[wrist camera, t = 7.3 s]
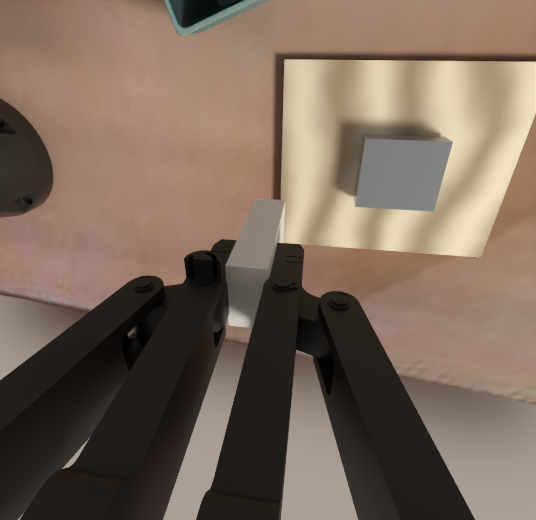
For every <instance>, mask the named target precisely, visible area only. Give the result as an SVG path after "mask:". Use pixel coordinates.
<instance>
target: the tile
mask: <svg viewBox="0 0 536 520" xmlns="http://www.w3.org/2000/svg"><path fill="white" fill-rule="evenodd" d="M452 144H453V142H452V141H451V140H449V139H448V138H446V137H441V136H412V135H384V134H363V137H362V144H361V151H360V158H359V165H358V172H357V179H356V186H355V193H354V203H355V207H364V208H381V209H398V210H414V211H431V212H434V209H435V205H436V202H437V198H438V195H439V191H440V187H441V184H442V180H443V176H444V173H445V169H446V166H447V162H448V158H449V155H450V151H451V147H452Z"/></svg>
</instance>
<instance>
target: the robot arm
mask: <svg viewBox="0 0 536 520" xmlns="http://www.w3.org/2000/svg"><path fill="white" fill-rule="evenodd" d="M52 184H53V170H52V165H51V161H50V157H49V155H48V152H47V150H46V148H45V145H44V144H43V142H42V140H41V138H40V137H39V135H38V134H37V132H36V131H35V129H34V128H33V127H32V126H31V124H30V123H29V122H28V121H27V120H26V119H25V118H24V117H23V116H22V115H21V114H20V113H19V112H18V111H16V110H15V109H14V108H13V107H11V106H10V105H9V104H7V103H5V102H4V101H2V100H0V218H2V217H11V216H17V215H21V214H24V213H27V212H29V211H31V210H33V209H34V208H36V207H38V206H40V205H41V204H43V203H44V202H45V200H46V199H47V198H48V196H49V194H50V192H51V189H52ZM284 218H285V200H274V199H258V198H256V200H255V202H254V204H253V206H252V208H251V210H250V213H249V215H248V217H247V219H246V221H245V224H244V226H243V228H242V230H241V232H240V234H239V237H238V239H237V240H224V239H221V240H220V241H219V242H217V243H216V244H214V246H213V247H212V249H211V251H208V250H206V251H196V252H193V253H190V254H188V255H187V256H186V257H185V258H184V262H185V270H186V277H187V278H186V279H185V281H184V283H183V284H178V285H170V286H164V284H163V281H162V280H161V278H158V277H156V276H141V277H138V278H135V279H133V280H131V281H130V282H128V283H127V284H125V285H124V286H123V287H122V288H120V289H119V290H118V291H116V292H115V293H114V294H112V295H111V296H110V297H108V298H107V299H106V300H105V301H103V302H102V303H101V304H99V305H98V306H97V307H95V308H94V309H93V310H91V311H90V312H89V313H88V314H86V315H85V316H84V317H82V318H81V319H80V320H78V321H77V322H76V323H75V324H74V325H72V326H71V327H69V328H68V329H67V330H65V331H64V332H63V333H61V334H60V335H59V336H58V337H56V338H55V339H54V340H52V341H51V342H50V343H48V344H47V345H46V346H45V347H43V348H42V349H41V350H39V351H38V352H37V353H35V354H34V355H33V356H32V357H30V358H29V359H28V360H26V361H25V362H24V363H22V364H21V365H20V366H18V367H17V368H16V369H15V370H13V371H12V372H11V373H9V374H8V375H7V376H5V377H4V378H3V379H2V380H0V520H18V519H19V517H20V516H21V515H22V514H23V513H24V514H23V516H22V517H21V519H20V520H163V518H164V515H165V512H166V509H167V506H168V503H169V500H170V497H171V494H172V491H173V488H174V485H175V482H176V479H177V476H178V473H179V470H180V467H181V465H182V462H183V459H184V456H185V453H186V450H187V447H188V444H189V441H190V438H191V435H192V432H193V429H194V426H195V423H196V420H197V417H198V414H199V412H200V409H201V406H202V402H203V399H204V397H205V394H206V391H207V388H208V385H209V382H210V379H211V376H212V373H213V370H214V367H215V364H216V361H217V358H218V355H219V352H220V349H221V347H222V343H223V341H224V338H225V335H226V326H225V323H226V320H227V317H228V320H229V325H230V326H240V327H250V328H252V332H251V336H250V340H249V344H248V348H247V352H246V355H245V359H244V363H243V367H242V371H241V375H240V379H239V382H238V386H237V390H236V394H235V398H234V402H233V406H232V410H231V414H230V417H229V421H228V425H227V429H226V433H225V437H224V441H223V445H222V449H221V452H220V456H219V460H218V465H217V468H216V472H215V476H214V479H213V483H212V486H211V488H210V490H208V491H207V492H206V493H205V495H204V497H203V500H202V502H201V505H200V509H199V512H198V515H197V519H196V520H281V509H282V497H283V487H284V475H285V465H286V453H287V443H288V432H289V420H290V409H291V399H292V388H293V377H294V365H295V357H296V350H299V351H302V352H304V353H307V354H309V355H312V356H313V361H314V364H315V368H316V372H317V375H318V379H319V382H320V386H321V389H322V393H323V396H324V400H325V403H326V407H327V411H328V414H329V418H330V421H331V425H332V428H333V432H334V436H335V439H336V443H337V446H338V450H339V453H340V457H341V460H342V464H343V467H344V471H345V474H346V478H347V481H348V485H349V489H350V492H351V495H352V499H353V503H354V506H355V510H356V513H357V517H358V520H475V519H474V517H473V515H472V513H471V511H470V509H469V508H468V506H467V504H466V502H465V500H464V498H463V496H462V494H461V492H460V491H459V489H458V487H457V485H456V483H455V482H454V479H453V477H452V476H451V474H450V472H449V470H448V468H447V466H446V464H445V463H444V461H443V459H442V457H441V455H440V453H439V451H438V450H437V448H436V446H435V444H434V442H433V440H432V438H431V436H430V434H429V432H428V431H427V429H426V427H425V425H424V424H423V421H422V419H421V417H420V416H419V414H418V412H417V410H416V408H415V406H414V404H413V402H412V401H411V399H410V397H409V395H408V393H407V391H406V390H405V388H404V386H403V384H402V382H401V380H400V378H399V376H398V374H397V373H396V371H395V369H394V367H393V365H392V363H391V361H390V359H389V358H388V356H387V354H386V352H385V350H384V348H383V346H382V344H381V343H380V341H379V339H378V337H377V335H376V333H375V331H374V329H373V328H372V326H371V324H370V322H369V320H368V318H367V316H366V314H365V313H364V311H363V309H362V307H361V305H360V303H359V302H358V300H357V299H356V298H355V297H353V296H352V295H350V294H348V293H345V292H340V291H332V292H327V293H325V294H323V295H322V296H321V298H319V297H316V296H313V295H311V294H309V293H308V292H306V291H305V290H304V289H303V287H302V273H303V260H304V249H303V248H302V247H301V245H300V244H288V243H284ZM133 328H134V331H135V332H134V333H133V334H132V335H131V336H129V337H128V335H127V334H128V333H129V332H130V331H131V330H132V329H133ZM90 436H91V437H90ZM89 437H90V439H89ZM88 439H89V440H88ZM87 440H88V442H87V444H86V445H85V447H84V449H83V450H82V452H81V454H80V455H79V457H78V458H77V460H76V461H75V463H74V464H73V465H71V466H70V467H69V468H65V469H62V468H63V467H64V466H65V465H66V463H68V461H69V460H70V459H71V458H72V457H73V456H74V455H75V453H76V452H77V451H78V450H79V449H80V448H81V446H82V445H83V444H84V443H85V442H86V441H87Z"/></svg>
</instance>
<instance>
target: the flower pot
mask: <svg viewBox="0 0 536 520" xmlns="http://www.w3.org/2000/svg"><path fill="white" fill-rule="evenodd" d="M267 1H269V0H164V2H165V5H166V7H167V10H168V12H169V15H170V18H171V20H172V23H173V26H174V28H175V30H176V32H177V33H178V35H180V36H186V35H191V34H195V33H199V32H203V31H205V30H208V29H210V28H212V27H214V26H216V25H218V24H220V23H222V22H224V21H226V20H228V19H230V18H232V17H235V16H237V15H239V14H241V13H243V12H245V11H247V10H249V9H251V8H254V7H256V6H258V5H260V4H262V3H264V2H267Z"/></svg>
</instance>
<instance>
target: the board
mask: <svg viewBox="0 0 536 520" xmlns="http://www.w3.org/2000/svg"><path fill="white" fill-rule="evenodd" d="M535 114H536V62H508V61H403V60H298V59H284V94H283V131H282V167H281V200H285V218H284V243H293V244H306V245H320V246H333V247H347V248H360V249H374V250H388V251H401V252H415V253H428V254H442V255H455V256H469V257H481V256H482V253H483V251H484V248H485V245H486V243H487V240H488V237H489V235H490V232H491V229H492V227H493V224H494V222H495V219H496V216H497V214H498V211H499V208H500V206H501V203H502V200H503V198H504V195H505V193H506V190H507V187H508V185H509V182H510V179H511V177H512V174H513V171H514V169H515V166H516V164H517V161H518V158H519V156H520V153H521V150H522V148H523V145H524V143H525V140H526V137H527V135H528V132H529V129H530V127H531V124H532V121H533V119H534V116H535ZM363 134H384V135H412V136H441V137H446V138H448V139H449V140H451V141H452V142H453V144H452V147H451V151H450V155H449V158H448V162H447V166H446V169H445V173H444V176H443V180H442V184H441V187H440V191H439V195H438V198H437V202H436V205H435V209H434V212H431V211H414V210H398V209H381V208H364V207H355V203H354V193H355V186H356V179H357V172H358V165H359V158H360V151H361V144H362V137H363Z"/></svg>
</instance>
